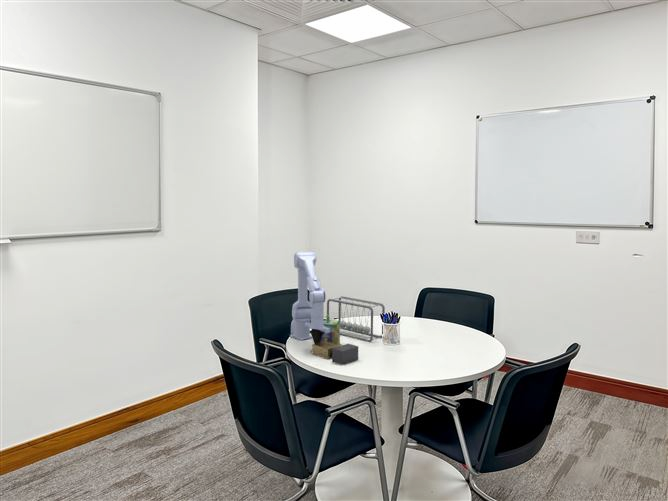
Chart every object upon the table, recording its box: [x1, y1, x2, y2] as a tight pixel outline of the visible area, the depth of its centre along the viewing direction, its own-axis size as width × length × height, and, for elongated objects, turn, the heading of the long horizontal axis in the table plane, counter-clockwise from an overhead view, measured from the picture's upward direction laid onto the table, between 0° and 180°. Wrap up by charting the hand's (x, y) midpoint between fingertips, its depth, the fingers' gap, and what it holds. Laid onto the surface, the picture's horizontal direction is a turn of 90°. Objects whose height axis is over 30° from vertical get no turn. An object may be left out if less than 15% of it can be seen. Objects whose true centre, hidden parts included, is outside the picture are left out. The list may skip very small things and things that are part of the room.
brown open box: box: [311, 341, 342, 360], centre depth 229 cm, size 10×8×4 cm
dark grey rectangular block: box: [330, 343, 359, 366], centre depth 223 cm, size 14×10×6 cm
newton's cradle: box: [326, 295, 386, 343], centre depth 261 cm, size 30×10×18 cm, turn 48°
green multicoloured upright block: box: [320, 313, 341, 345], centre depth 243 cm, size 9×9×15 cm
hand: (317, 345), depth 233 cm, fingers closed
